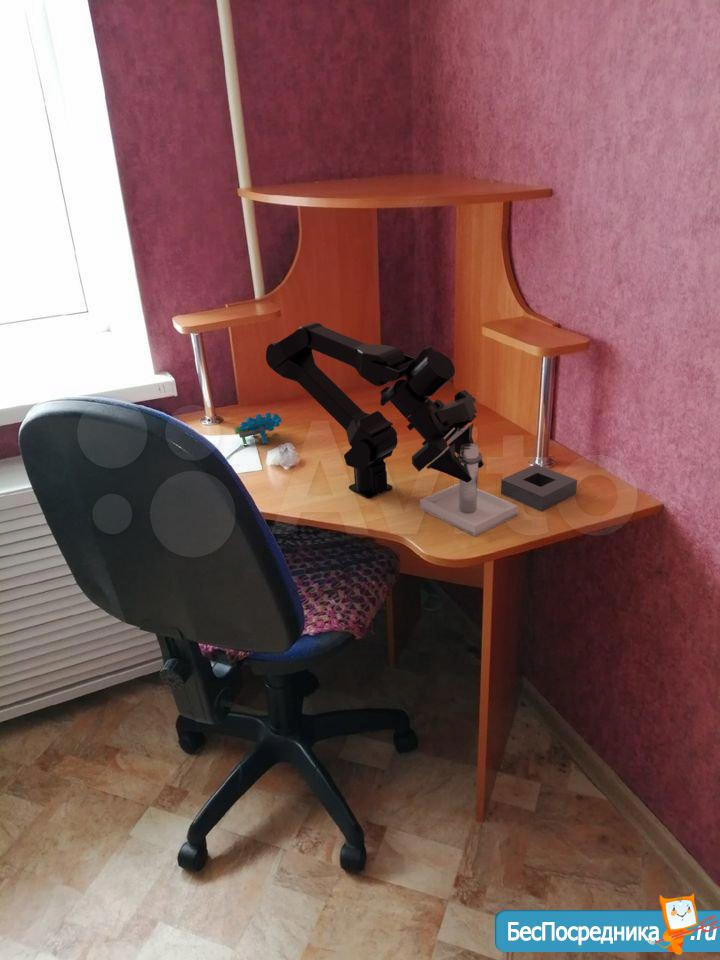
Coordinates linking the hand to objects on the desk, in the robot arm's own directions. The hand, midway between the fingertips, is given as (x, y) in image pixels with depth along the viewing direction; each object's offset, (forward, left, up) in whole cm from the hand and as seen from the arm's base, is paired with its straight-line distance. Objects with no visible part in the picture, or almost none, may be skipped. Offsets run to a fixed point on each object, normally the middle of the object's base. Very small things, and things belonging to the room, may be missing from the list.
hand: (475, 473), depth 135 cm
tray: (-1, -1, -8) cm, 8 cm away
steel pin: (-1, -1, -7) cm, 8 cm away
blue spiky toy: (-59, -10, -8) cm, 61 cm away
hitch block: (+3, +14, -8) cm, 17 cm away
